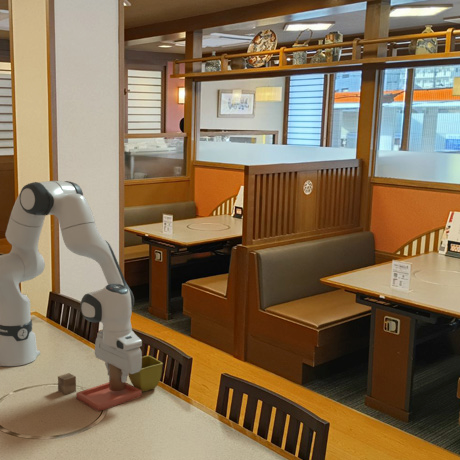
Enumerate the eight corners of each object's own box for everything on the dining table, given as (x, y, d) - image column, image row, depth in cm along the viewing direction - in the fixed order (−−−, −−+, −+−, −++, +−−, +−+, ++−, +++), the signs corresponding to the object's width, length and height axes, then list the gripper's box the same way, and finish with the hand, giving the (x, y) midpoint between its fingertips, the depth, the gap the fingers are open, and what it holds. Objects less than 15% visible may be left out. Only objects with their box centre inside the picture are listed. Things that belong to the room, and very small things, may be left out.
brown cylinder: (106, 387, 193) (105, 363, 192) (119, 383, 197) (119, 359, 196) (115, 392, 190) (115, 368, 189) (128, 388, 193) (128, 364, 192)
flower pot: (139, 396, 193) (139, 369, 192) (125, 386, 200) (125, 360, 198) (163, 389, 199) (163, 363, 197) (148, 380, 205) (149, 355, 204)
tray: (76, 398, 190) (76, 392, 190) (118, 384, 201) (118, 378, 201) (98, 411, 182) (98, 405, 181) (141, 396, 193) (141, 390, 193)
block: (58, 391, 195) (57, 376, 194) (69, 387, 198) (68, 372, 197) (64, 395, 193) (64, 379, 192) (75, 391, 195) (75, 376, 195)
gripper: (89, 330, 195) (90, 371, 198) (128, 347, 182) (128, 391, 184) (106, 326, 200) (106, 366, 202) (145, 342, 186) (145, 385, 188)
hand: (117, 378), depth 193 cm, fingers closed on brown cylinder, 5 cm apart
